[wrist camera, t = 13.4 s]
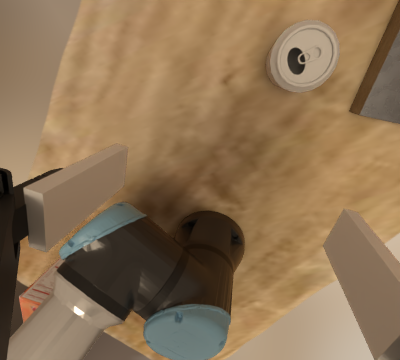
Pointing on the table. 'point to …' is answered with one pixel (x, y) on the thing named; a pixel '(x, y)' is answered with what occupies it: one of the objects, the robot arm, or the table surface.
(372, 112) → the socket block
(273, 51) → the can
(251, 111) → the table surface
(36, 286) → the cracker box
